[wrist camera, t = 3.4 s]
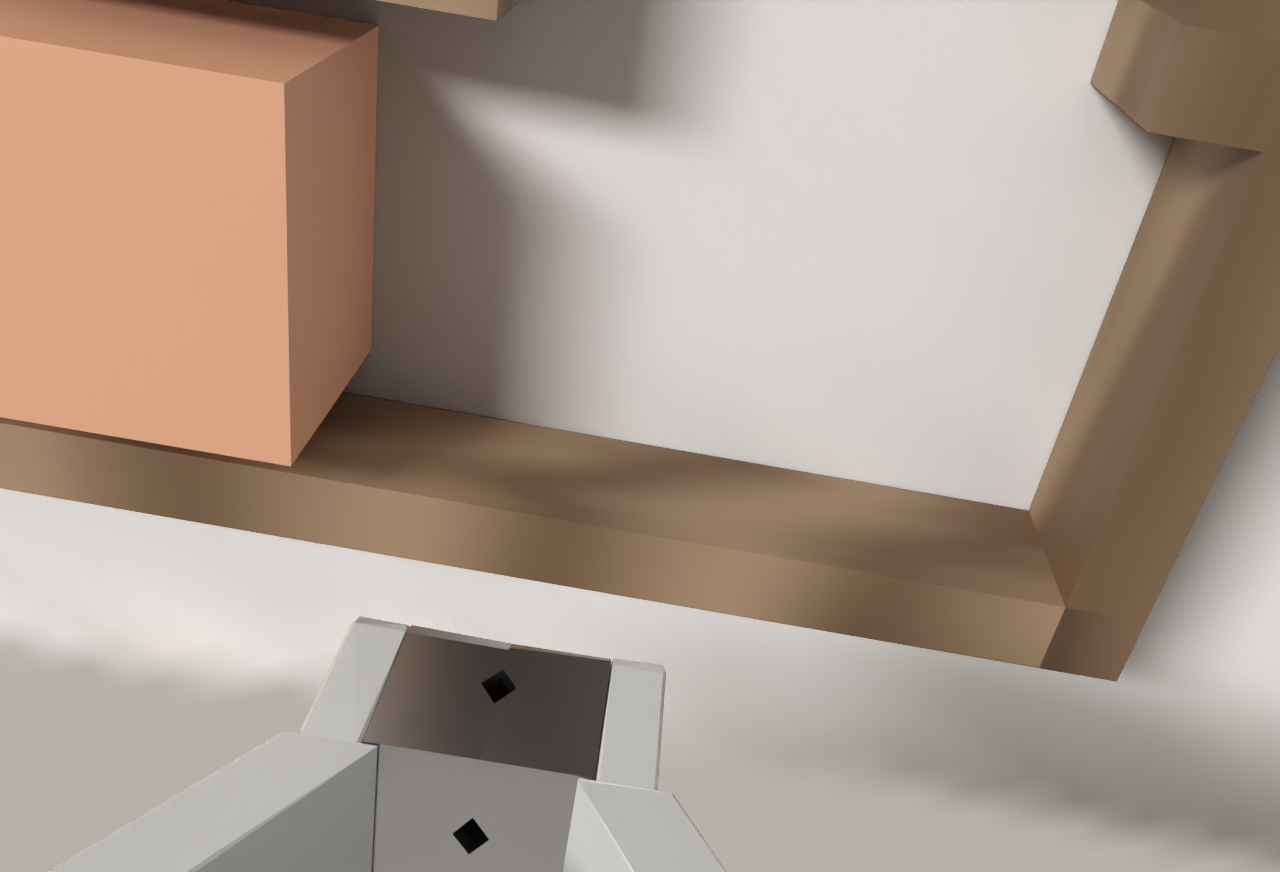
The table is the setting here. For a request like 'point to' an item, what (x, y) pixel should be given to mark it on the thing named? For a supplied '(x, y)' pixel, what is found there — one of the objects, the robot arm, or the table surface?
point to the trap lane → (822, 505)
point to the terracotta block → (184, 219)
